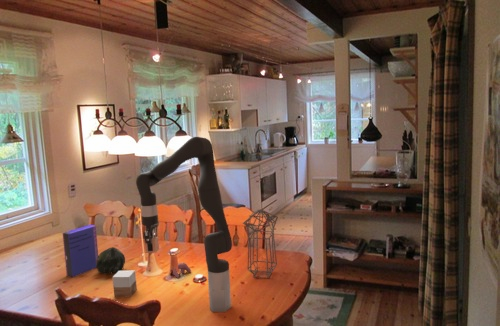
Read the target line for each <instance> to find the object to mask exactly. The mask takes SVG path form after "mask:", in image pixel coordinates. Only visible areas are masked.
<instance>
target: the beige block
mask: <svg viewBox="0 0 500 326" xmlns="http://www.w3.org/2000/svg"><path fill="white" fill-rule="evenodd" d="M148 241H149V239H148ZM159 244H160V243H159V237H158V236H157V237H154V238H153V239H152V246H153V251H148V246H147V243H145V242H144V250H145V251H144V253H145V254H152V253H153V254H154V253H155V254H156V253H157V252H158V251H159V250H160V248H159V247H160V245H159Z"/></svg>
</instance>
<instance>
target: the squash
mask: <svg viewBox="0 0 500 326" xmlns="http://www.w3.org/2000/svg"><path fill="white" fill-rule="evenodd" d="M125 263H126V258H125V254H124V253H123V252H122V251H121V250H119V249H118V248H117V247H115V246H114V247H109V248H107V249H105V250H103V251H101V252H100V253H98V258H97V261H96V266H97V268H96V269H97V271H98V273H100V274H102V275H103V274H106V275H107V274H109V275H110V274H113V275H115V274H116V273H117V272H118V271H123V269H124V266H125Z"/></svg>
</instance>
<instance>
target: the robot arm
mask: <svg viewBox="0 0 500 326" xmlns="http://www.w3.org/2000/svg"><path fill="white" fill-rule="evenodd" d="M191 159H197V160H198V165H199V171H200V172H199V173H200V174H199V177H198V178H199V180H198V183H197V193H198V196H199V201H200V203H199V204H200V205H201V206H202V209H204V211H205V212H206V213H207V214H208V215H209V216H210V217H211V218H212V220H213V221H214V223H215V225H216V229H217V231H216V232H211V233H209V234H206V235H205V237H204V243H203V244H204V251H205V253H204V254H205V263H206V267H207V281H208V301H209V309H210V310H211V313H226V312H227V311H228V310H230V309H231V307H232V301H231V300H232V299H231V298H232V297H231V296H232V295H231V282H230V281H231V280H230V279H231V278H230V263H229V261H228V260H226V259H222V258H219V256H218V255H221V254H225V253H228V252H230V251H231V250H232V247H233V239H232V237H231V233H230V229H229V225H228V222H227V219H226V215H225V211H224V207H223V201H222V194H221V190H220V186H219V181H218V176H217V171H216V166H215V155H214V148H213V143H212V142H211V141H210V139H208V138H206V137H200V136H193V137H191V138H189V139H188V140H187V141H186V142H185V143H184V144H183V145H181V147H179V149H177V150H176V151H175V152H173V153H172V154H171V155H170V156H168V157H165V159H163V160H161V161H160V162H158V163H157V164H155V165H154V166H153V167H152V168H151V169H150V170H148V171H145V172H141V173H139V174H138V175H137V177H136V179H135V185H136V188H137V191H138V193H139V196H140V206H141V207H140V213H141V214H140V216H141V217H140V218H141V225H142V226H145V228H144V229H145V230H144V231H143V238H144V244H145V243H147V246H148V251H153V246H152V239H153V238H154V237H158V224H159V214H158V213H159V211H158V205H157V204H158V203H157V196H156V193H155V192H154V191H152V190H151V187H152V186H155V185H156V184H159V182H161V181H162V180H164V179H165V178H167V177H168V176H170V175H171V174H173V173H174V172H176V171H177V170H178V168H179V167H180V166H181V165H182V164H184V163H185V162H187V161H189V160H191ZM148 239H149V241H148Z"/></svg>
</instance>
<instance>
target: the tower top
mask: <svg viewBox="0 0 500 326" xmlns="http://www.w3.org/2000/svg"><path fill="white" fill-rule="evenodd" d="M135 281H136V282H137V277H136V270H135V269H134V270H132V269H131V270H121V271H118V272H117V273H116V274H113V276H112V286H113V288H114V287H131V285H132V284H133V283H134V282H135Z"/></svg>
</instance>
